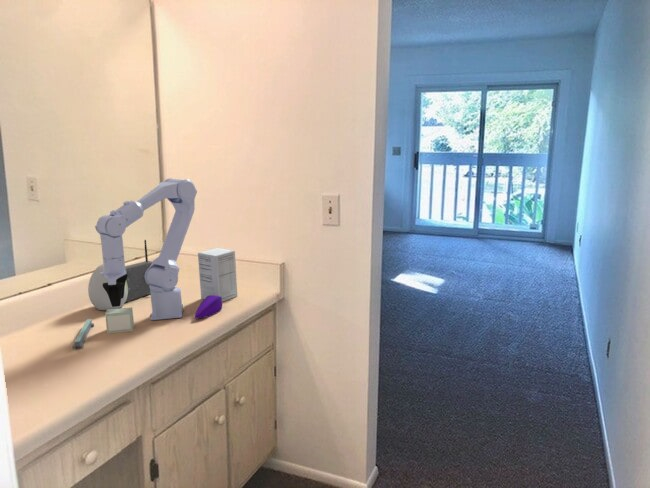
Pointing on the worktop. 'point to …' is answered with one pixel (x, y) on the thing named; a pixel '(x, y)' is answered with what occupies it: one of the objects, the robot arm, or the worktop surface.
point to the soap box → (119, 320)
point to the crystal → (209, 306)
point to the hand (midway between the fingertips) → (118, 302)
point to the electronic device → (137, 278)
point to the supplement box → (218, 273)
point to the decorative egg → (102, 291)
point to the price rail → (83, 334)
